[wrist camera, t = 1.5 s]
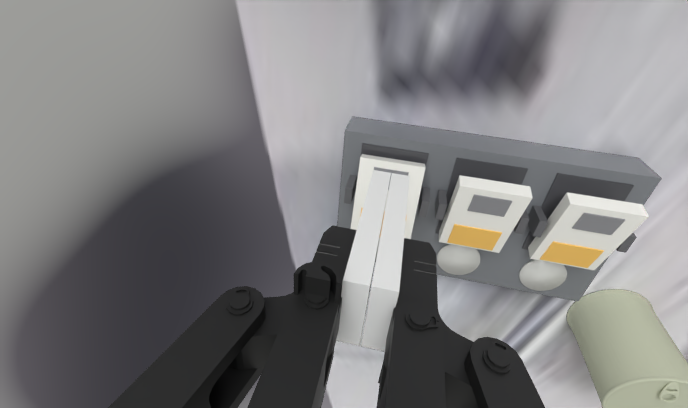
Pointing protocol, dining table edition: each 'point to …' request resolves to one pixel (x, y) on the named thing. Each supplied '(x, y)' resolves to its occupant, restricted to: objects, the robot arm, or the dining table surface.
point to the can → (628, 351)
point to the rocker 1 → (391, 166)
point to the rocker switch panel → (504, 166)
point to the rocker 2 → (586, 230)
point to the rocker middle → (483, 213)
